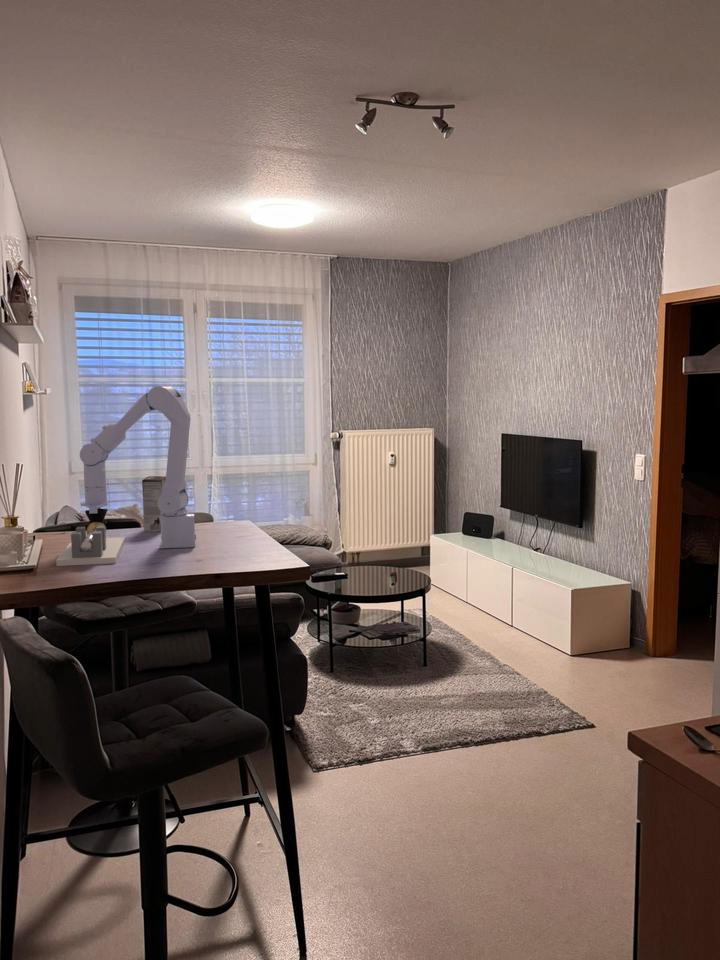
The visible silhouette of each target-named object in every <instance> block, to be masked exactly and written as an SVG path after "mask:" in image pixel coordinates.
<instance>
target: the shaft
mask: <svg viewBox="0 0 720 960" xmlns="http://www.w3.org/2000/svg"><path fill="white" fill-rule="evenodd" d="M97 526H105V530H106V531H107V527H106V525H105V524H104V523H101V522H92V523H91V524H90V523H89V525H88V526H87V528H86V538H85V540H84V541H83V543H82V544H81V546H80V548H81V550H82V551H84V552H87V551H89V550H90V548H91V547H92V545H93V542H92V533H93V532H94V531H96V527H97Z"/></svg>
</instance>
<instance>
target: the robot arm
mask: <svg viewBox="0 0 720 960" xmlns="http://www.w3.org/2000/svg"><path fill="white" fill-rule="evenodd" d="M156 411H158V412H160V413H161V414H163V415H164V417H166V419H167V420H168V421H169V422H170V429H169V438H168V439H169V440H168V450H167V461H166V462H167V463H166V471H165V472H166V473H165V477H166V480H165V482H164V485H163V488H162V493H161V495H160V497H159V499H158V508H159V510H160V511H161V513H160V514H161V515H160V517H161V532H160V537H161V538H160V539H161V540H160V542H159V543H160V544H159V549H178V548H182V549H183V548H195V547H196V541H197V533H196V530H195V529H196V527H195V525H196V524H195V513H188V511H187V508H186V507H187V506H188V504H189V495H188V492H187V483H186V480H185V479H186V471H187V470H186V467H187V460H188V459H187V457H188V450H189V448H188V447H189V439H190V437H189V436H190V429H191V427H190V426H191V414H190V412H189V409H188V407H187V406H186V404H185V401H184V398H183V395H182V394H181V393H180V392H179V391H178V390H177V389H176V388H174V387H173V386H169V385H166V386H161V385H156V386H153V387H152V388H150V389H149V391H148V392H145V394H143V395H142V396H140V397H139V398H138V400H137V401H136V403H134V404H133V405H132V407H131V408H130V409H128V411H127V412H126V413H125V414H124V415H123V416H122V417H121V418H120V419H119V420H118V422H116V423H111V422H110V423H109V424H105V425H104V426H102V427H101V428H102V430H101V431H100V432H99V433H98V434H97V435H96V436H95V437H92V438H91V439H90V443H85V444H84V445H83V446H82V448H81V449H80V450H79V458H80V461H81V462H82V463H83V480H84V481H83V483H84V485H83V486H84V502H80V506H81V507H86V508H88V510H87V509H86V510H85V515H86V516H87V518H88V521H89V525H90V524H91V523H92V522H101V523H103V524H104V522H105V517H106V515H107V512H108V510H109V509H108V508H103V507H107V506H108V505H109V503H108V499H107V498H108V497H107V496H108V495H107V472H106V471H107V469H106V461H107V460H108V458H109V455H110V454H111V453H112V452H113V451H114V450H115V449H116V448H117V447H118V446H119V445H120V444H121V443H122V442H123V441H124V440H125V439H126V438H127V437H126V435H127V434H126V433H127V431H128V430H129V429H130V428H132V427H133V425H135V424H136V423H137V422H138V421H139V420H141V419H142V417H144V416H145V415H146V414H147V413H150V412H151V413H152V412H156Z"/></svg>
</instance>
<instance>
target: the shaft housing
mask: <svg viewBox="0 0 720 960" xmlns="http://www.w3.org/2000/svg"><path fill="white" fill-rule="evenodd" d="M105 527H106V525H105V526H97V527H96V531H94V532H93V533H92V542H93V545H92V547H91V548H90V550H89V551H87V552H84V551H82V550H81V548H80V546H81V544H82V543H83V541H84V540H85V538H86V537H87V528H86V526H77V527H76V528H75V531H73V532H72V533H71V534H70V542H69V543H68V544H67V546H66V547H65V548H64V549H63V551H62V552H61V554H60V555H59V556H58V557H57V559H56V560H55V563H56V567H65V566H67V567H68V566H69V567H70V566H85V565H105V564H107V565H108V564H110V565H111V564H116V563H117V562H118V560H119V557H120V554H121V552H122V550H123V548H124V546H125V544H126V540H125V539H126V537H124V536H123V537H107V536H106V535H107V529H106V530H105Z"/></svg>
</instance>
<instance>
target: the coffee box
mask: <svg viewBox="0 0 720 960" xmlns="http://www.w3.org/2000/svg"><path fill="white" fill-rule="evenodd" d="M165 480H166V476H162V475H161V476H160V475H159V476H158V475H155V476H154V475H151V476H150V475H149V476H147V477H145V478H143V479H142V480H141V485H142V486H141V487H142V489H141V490H142V511H143V512H142V513H143V515H142V516H143V532H149V533H150V532H156V533H157V532H160V533H161V517H160V515H161V514H160V513H161V511H160V510H159V508H158V499H159V497H160V495H161V493H162V488H163V485H164V482H165Z"/></svg>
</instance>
